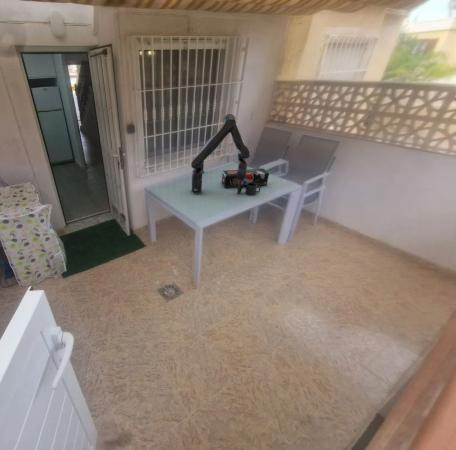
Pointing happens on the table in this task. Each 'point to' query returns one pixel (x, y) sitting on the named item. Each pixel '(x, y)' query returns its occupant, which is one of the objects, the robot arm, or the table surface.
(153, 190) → the table surface
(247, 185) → the mug
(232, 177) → the soda box
